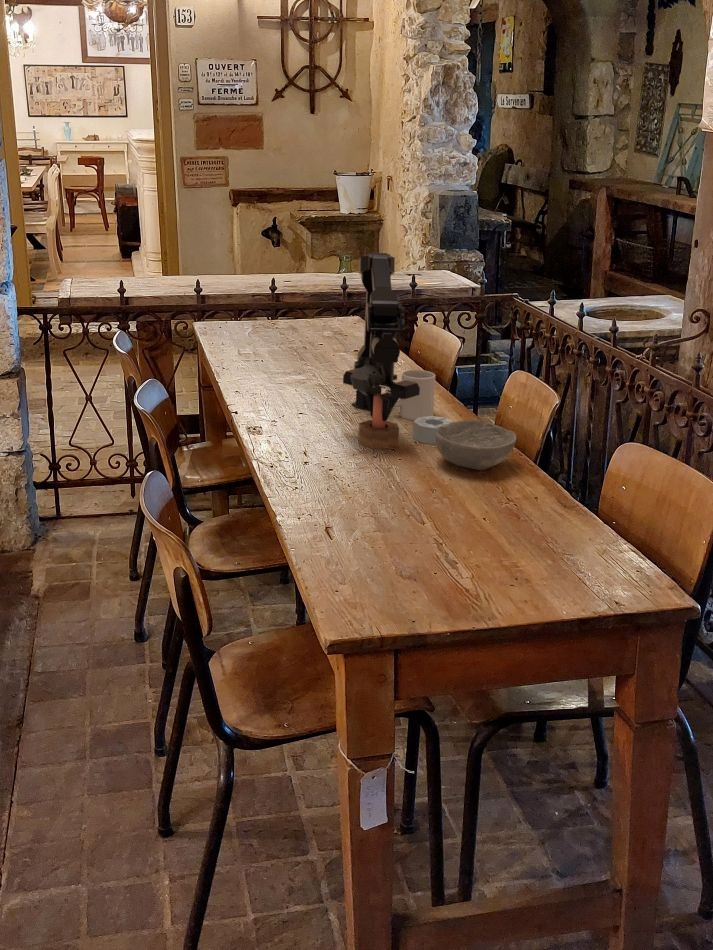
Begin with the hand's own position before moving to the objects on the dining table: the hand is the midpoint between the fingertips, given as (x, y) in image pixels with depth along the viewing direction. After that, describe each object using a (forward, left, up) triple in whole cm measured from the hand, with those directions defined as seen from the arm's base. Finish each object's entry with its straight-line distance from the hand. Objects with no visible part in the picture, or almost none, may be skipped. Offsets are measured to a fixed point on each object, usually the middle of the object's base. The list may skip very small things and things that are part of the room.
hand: (379, 419), depth 239 cm
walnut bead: (0, 0, -6) cm, 6 cm away
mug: (-22, -8, -6) cm, 24 cm away
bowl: (-3, +25, -6) cm, 26 cm away
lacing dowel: (0, 0, -3) cm, 3 cm away
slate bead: (-12, +7, -6) cm, 15 cm away
